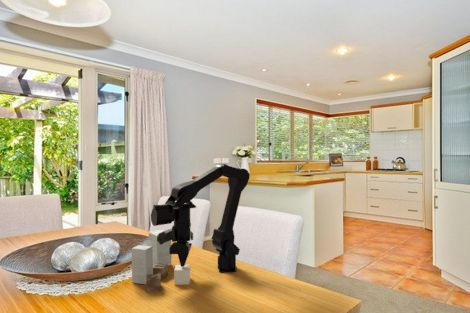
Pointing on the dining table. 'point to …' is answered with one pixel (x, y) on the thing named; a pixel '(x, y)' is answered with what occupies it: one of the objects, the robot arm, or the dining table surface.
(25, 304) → the dining table surface
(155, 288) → the walnut block
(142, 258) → the skincare box
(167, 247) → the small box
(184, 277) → the cream block
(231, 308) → the dining table surface
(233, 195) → the robot arm
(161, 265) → the walnut block
